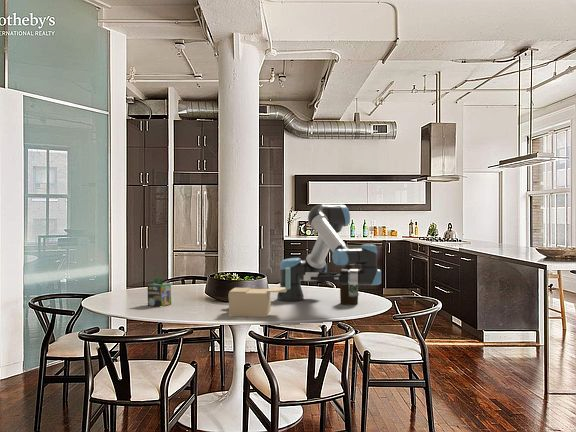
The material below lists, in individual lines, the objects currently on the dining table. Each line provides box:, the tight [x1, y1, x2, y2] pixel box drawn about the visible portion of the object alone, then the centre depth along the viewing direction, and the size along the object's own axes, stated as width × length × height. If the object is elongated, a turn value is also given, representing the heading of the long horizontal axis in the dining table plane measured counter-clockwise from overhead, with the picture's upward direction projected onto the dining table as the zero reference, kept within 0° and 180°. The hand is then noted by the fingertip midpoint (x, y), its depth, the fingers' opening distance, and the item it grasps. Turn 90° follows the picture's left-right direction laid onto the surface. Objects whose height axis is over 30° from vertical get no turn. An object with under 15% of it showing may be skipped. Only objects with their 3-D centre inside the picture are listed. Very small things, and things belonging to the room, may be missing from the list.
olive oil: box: [339, 265, 360, 306], centre depth 306 cm, size 11×11×25 cm
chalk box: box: [146, 277, 172, 307], centre depth 300 cm, size 9×9×15 cm
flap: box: [267, 268, 290, 293], centre depth 273 cm, size 14×10×11 cm
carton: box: [227, 287, 271, 318], centre depth 275 cm, size 16×18×12 cm
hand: (304, 276), depth 272 cm, fingers open, 13 cm apart
